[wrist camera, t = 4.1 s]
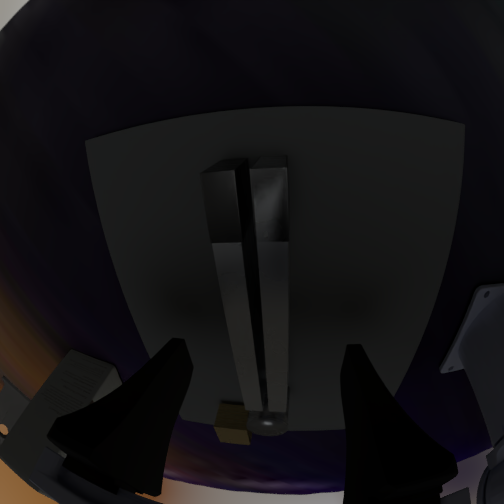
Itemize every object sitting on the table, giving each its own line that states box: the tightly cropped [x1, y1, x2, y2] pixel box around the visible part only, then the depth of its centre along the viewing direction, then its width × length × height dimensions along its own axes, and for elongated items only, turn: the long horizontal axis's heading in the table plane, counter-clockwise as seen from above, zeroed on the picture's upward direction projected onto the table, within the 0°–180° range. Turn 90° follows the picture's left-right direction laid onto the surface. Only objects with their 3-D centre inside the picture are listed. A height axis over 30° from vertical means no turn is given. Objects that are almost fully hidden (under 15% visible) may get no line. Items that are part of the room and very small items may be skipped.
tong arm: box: [200, 158, 267, 411], centre depth 12 cm, size 1×13×3 cm, turn 6°
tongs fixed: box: [246, 155, 290, 436], centre depth 13 cm, size 3×16×3 cm, turn 4°
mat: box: [85, 106, 465, 431], centre depth 15 cm, size 18×24×1 cm
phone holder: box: [0, 376, 31, 446], centre depth 32 cm, size 17×10×18 cm, turn 54°
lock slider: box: [214, 403, 252, 445], centre depth 18 cm, size 2×3×2 cm
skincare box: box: [0, 349, 122, 501], centre depth 16 cm, size 8×6×15 cm
